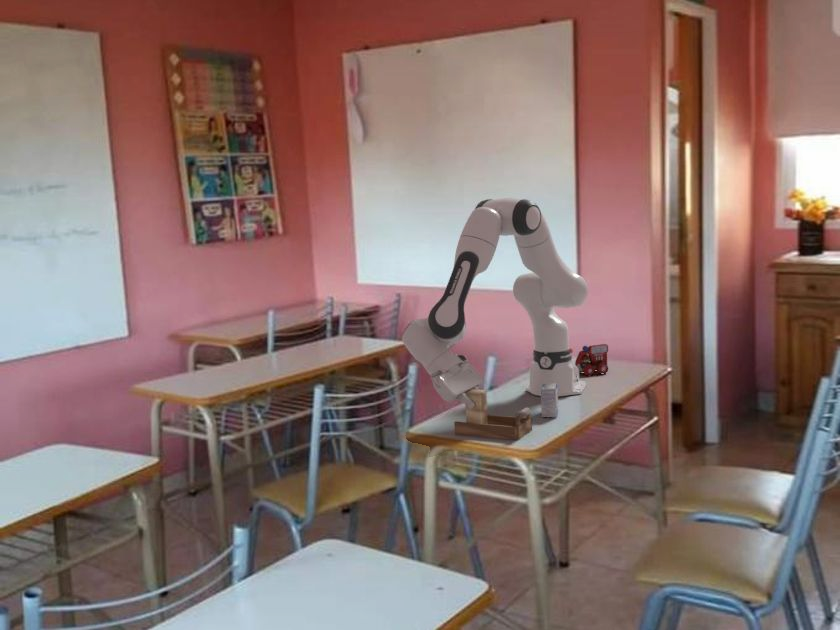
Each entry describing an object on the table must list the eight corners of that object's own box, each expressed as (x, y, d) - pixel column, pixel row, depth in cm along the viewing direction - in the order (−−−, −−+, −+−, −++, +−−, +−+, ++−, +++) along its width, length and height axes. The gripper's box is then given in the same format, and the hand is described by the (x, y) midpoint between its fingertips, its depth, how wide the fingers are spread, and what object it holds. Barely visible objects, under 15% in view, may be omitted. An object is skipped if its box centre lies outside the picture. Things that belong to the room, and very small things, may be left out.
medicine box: (557, 418, 266) (556, 388, 265) (541, 418, 267) (540, 389, 266) (558, 411, 274) (557, 382, 273) (543, 411, 275) (542, 383, 274)
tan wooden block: (473, 423, 260) (471, 389, 258) (487, 425, 258) (486, 390, 256) (466, 427, 256) (464, 392, 254) (481, 429, 254) (479, 393, 252)
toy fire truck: (571, 373, 325) (570, 345, 324) (603, 370, 329) (602, 341, 327) (580, 377, 319) (579, 348, 317) (612, 373, 322) (611, 344, 321)
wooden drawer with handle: (470, 424, 263) (469, 401, 262) (534, 430, 254) (533, 405, 253) (454, 434, 254) (453, 409, 253) (520, 440, 245) (519, 414, 244)
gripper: (434, 368, 248) (469, 405, 245) (467, 354, 266) (499, 389, 263) (421, 383, 251) (454, 420, 248) (454, 368, 269) (486, 403, 266)
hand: (478, 404), depth 255 cm, fingers closed on tan wooden block, 4 cm apart
